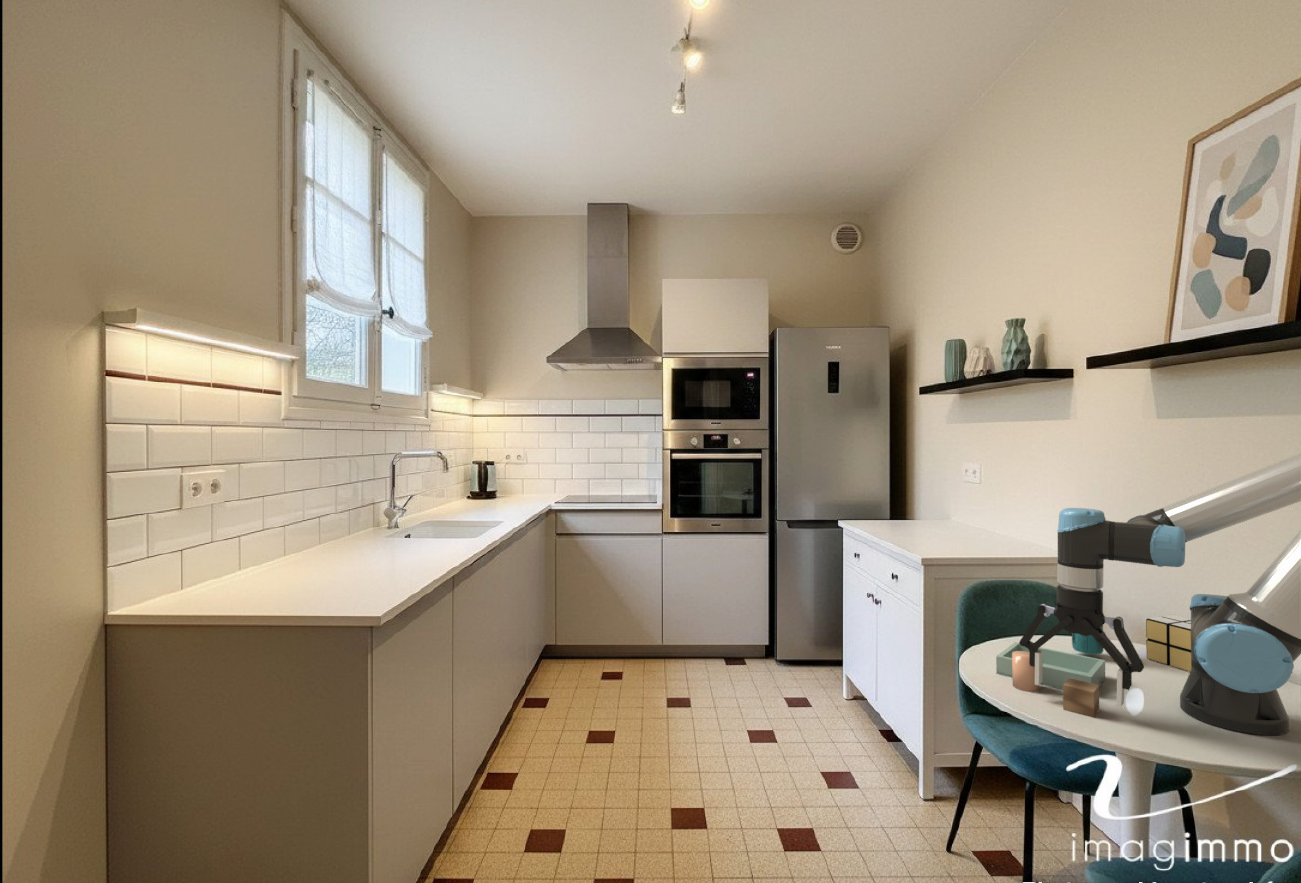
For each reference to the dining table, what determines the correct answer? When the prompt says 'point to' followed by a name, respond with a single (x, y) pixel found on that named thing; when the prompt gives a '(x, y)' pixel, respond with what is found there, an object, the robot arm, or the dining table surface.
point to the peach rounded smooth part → (1023, 672)
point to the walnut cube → (1081, 697)
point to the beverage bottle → (1086, 644)
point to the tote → (1057, 666)
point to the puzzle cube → (1169, 641)
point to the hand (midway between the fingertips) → (1077, 693)
